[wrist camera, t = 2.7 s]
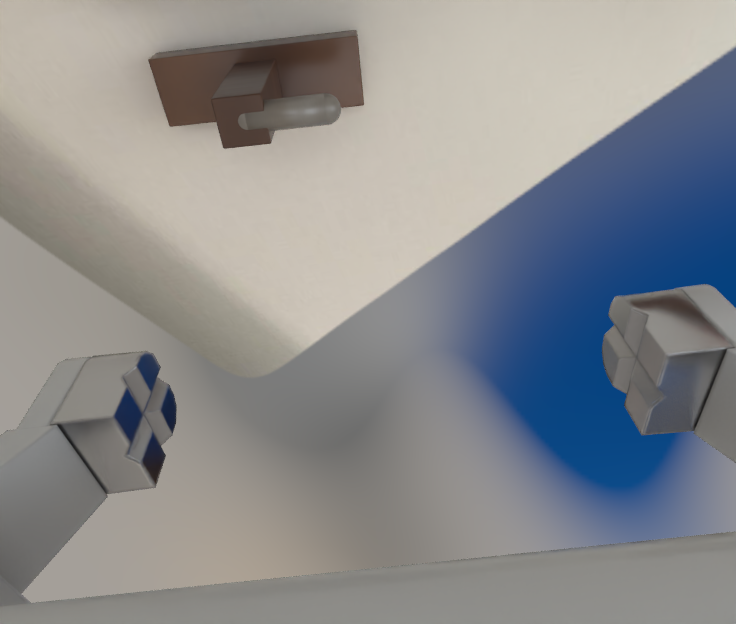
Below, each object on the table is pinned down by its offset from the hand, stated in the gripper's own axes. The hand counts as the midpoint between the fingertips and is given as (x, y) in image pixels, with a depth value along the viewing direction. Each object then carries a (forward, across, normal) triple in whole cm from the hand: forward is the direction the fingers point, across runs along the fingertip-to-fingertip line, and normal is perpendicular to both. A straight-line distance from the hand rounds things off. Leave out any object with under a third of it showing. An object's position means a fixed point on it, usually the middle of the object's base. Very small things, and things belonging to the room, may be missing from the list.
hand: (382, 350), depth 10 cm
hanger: (+22, +5, 0) cm, 22 cm away
